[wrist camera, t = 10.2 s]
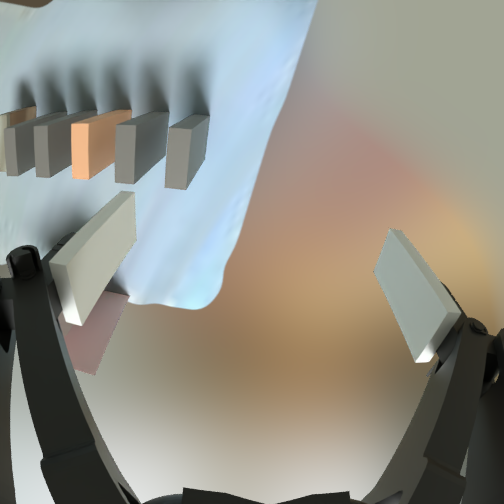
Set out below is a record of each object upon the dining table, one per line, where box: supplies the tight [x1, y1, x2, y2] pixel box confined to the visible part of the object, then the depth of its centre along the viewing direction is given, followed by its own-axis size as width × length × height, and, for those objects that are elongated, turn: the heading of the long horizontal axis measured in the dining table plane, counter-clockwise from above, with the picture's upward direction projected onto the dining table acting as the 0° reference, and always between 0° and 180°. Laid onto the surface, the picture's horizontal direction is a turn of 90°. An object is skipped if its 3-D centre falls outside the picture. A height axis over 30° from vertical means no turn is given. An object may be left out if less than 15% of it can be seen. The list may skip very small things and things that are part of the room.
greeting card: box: [58, 290, 130, 375], centre depth 34 cm, size 11×7×15 cm, turn 79°
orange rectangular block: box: [71, 110, 132, 180], centre depth 26 cm, size 2×5×10 cm, turn 171°
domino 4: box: [165, 114, 210, 190], centre depth 27 cm, size 2×5×10 cm, turn 171°
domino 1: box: [4, 111, 67, 176], centre depth 25 cm, size 2×5×10 cm, turn 171°
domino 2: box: [34, 110, 97, 178], centre depth 26 cm, size 2×5×10 cm, turn 171°
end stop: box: [0, 106, 36, 172], centre depth 27 cm, size 2×7×6 cm, turn 171°
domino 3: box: [115, 111, 169, 184], centre depth 26 cm, size 2×5×10 cm, turn 171°
